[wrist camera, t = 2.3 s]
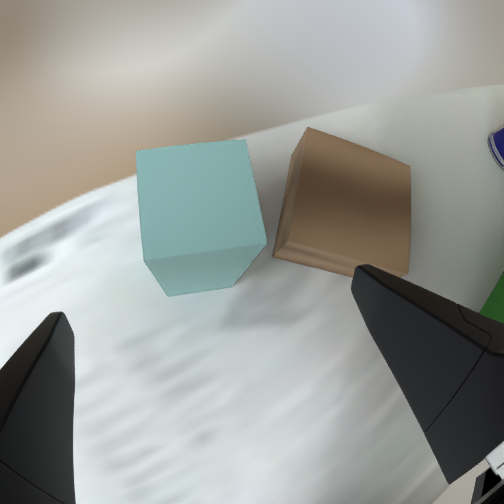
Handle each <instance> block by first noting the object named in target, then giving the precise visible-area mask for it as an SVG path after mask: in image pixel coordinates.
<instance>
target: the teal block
mask: <svg viewBox="0 0 504 504" xmlns="http://www.w3.org/2000/svg"><path fill="white" fill-rule="evenodd" d="M136 166H137V187H138V203H139V216H140V228H141V239H142V249H143V258H144V262H145V263H146V265H147V266H148V268H149V269H150V271H151V272H152V274H153V275H154V277H155V278H156V280H157V281H158V283H159V284H160V286H161V287H162V289H163V290H164V292H165V293H166V295H167V296H168V297H170V296H176V295H183V294H190V293H197V292H203V291H210V290H216V289H222V288H229V287H232V286H233V285H234V284H235V282H236V281H237V280H238V279H239V278H240V276H241V275H242V274H243V273H244V271H245V270H246V269H247V268H248V266H249V265H250V264H251V263H252V262H253V260H254V259H255V258H256V257H257V255H258V254H259V253H260V252H261V250H262V249H263V248H264V247H265V246H266V244H267V238H266V233H265V229H264V224H263V219H262V214H261V209H260V205H259V200H258V195H257V190H256V186H255V181H254V176H253V172H252V167H251V162H250V158H249V153H248V149H247V144H246V139H244V140H230V141H218V142H207V143H197V144H187V145H178V146H171V147H162V148H155V149H148V150H140V151H136Z"/></svg>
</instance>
